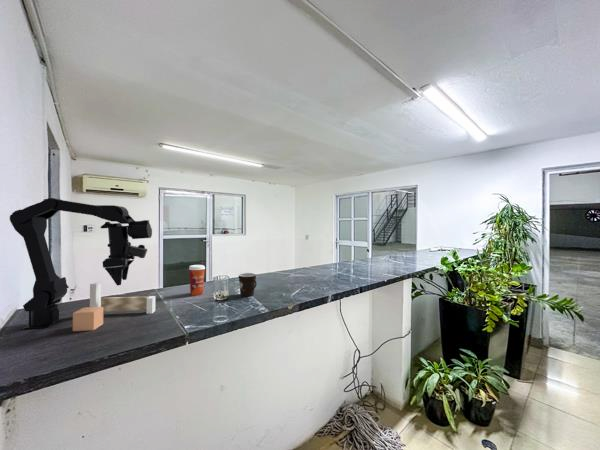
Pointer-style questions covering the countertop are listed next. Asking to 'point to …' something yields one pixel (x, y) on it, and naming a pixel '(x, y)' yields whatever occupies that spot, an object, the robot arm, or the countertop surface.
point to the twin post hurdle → (96, 298)
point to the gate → (124, 303)
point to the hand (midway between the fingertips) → (122, 282)
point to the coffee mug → (247, 284)
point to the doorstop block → (87, 318)
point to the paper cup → (196, 279)
